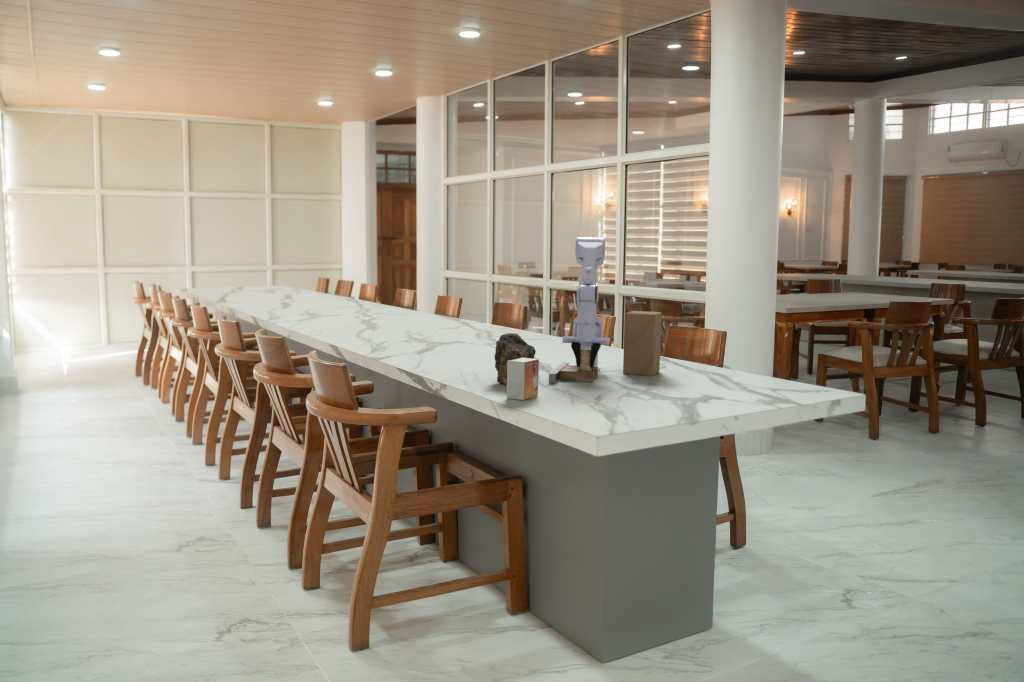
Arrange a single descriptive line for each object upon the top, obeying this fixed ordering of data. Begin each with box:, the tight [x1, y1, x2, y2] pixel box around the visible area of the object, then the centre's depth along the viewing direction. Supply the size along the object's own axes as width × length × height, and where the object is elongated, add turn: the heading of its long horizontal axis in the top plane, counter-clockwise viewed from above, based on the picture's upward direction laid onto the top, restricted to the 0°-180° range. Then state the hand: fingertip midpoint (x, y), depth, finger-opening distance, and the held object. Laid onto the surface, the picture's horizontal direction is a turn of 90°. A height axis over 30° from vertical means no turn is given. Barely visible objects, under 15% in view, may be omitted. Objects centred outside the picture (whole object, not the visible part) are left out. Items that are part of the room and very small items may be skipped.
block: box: [559, 364, 599, 383], centre depth 267 cm, size 12×10×3 cm
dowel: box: [580, 349, 591, 371], centre depth 266 cm, size 4×4×9 cm
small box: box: [506, 358, 540, 401], centre depth 234 cm, size 8×6×10 cm
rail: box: [548, 362, 570, 385], centre depth 268 cm, size 24×2×3 cm, turn 167°
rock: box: [494, 332, 537, 387], centre depth 257 cm, size 14×13×15 cm
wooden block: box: [622, 310, 663, 377], centre depth 279 cm, size 10×10×20 cm
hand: (585, 366), depth 266 cm, fingers closed on dowel, 4 cm apart
